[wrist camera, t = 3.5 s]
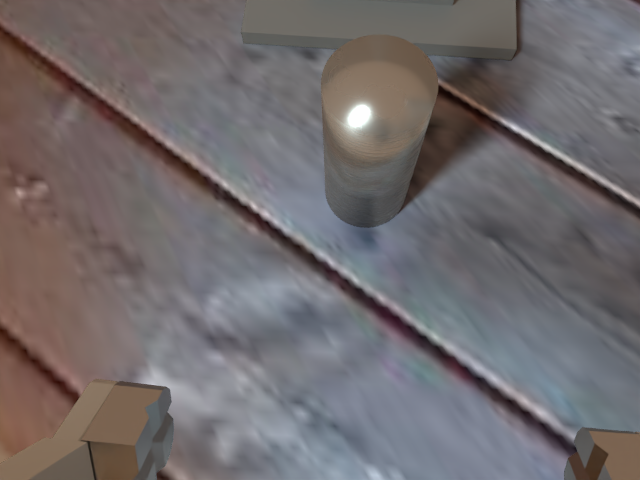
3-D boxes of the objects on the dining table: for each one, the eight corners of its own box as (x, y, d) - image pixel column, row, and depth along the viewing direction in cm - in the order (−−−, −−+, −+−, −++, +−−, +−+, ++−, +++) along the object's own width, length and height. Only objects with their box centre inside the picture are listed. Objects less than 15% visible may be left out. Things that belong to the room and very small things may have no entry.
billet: (407, 156, 31) (440, 37, 21) (403, 230, 30) (436, 139, 20) (329, 150, 31) (326, 31, 22) (321, 224, 30) (315, 130, 20)
